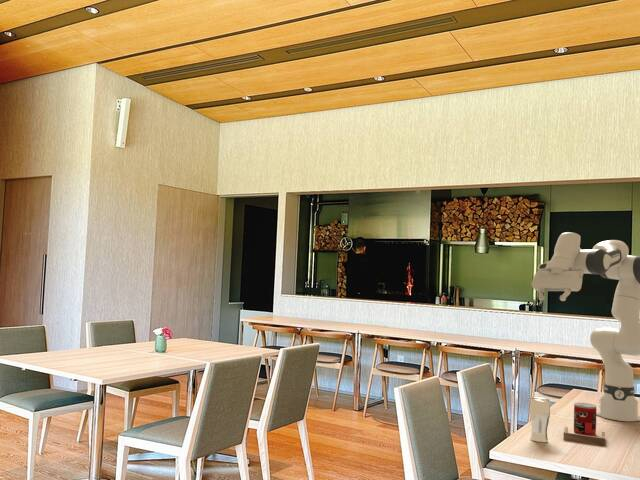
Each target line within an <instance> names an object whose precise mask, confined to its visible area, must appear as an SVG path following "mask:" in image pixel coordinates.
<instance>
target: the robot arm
mask: <svg viewBox="0 0 640 480" xmlns="http://www.w3.org/2000/svg"><path fill="white" fill-rule="evenodd" d="M580 246H581V235H580V234H578V233H576V232H569V231H567V232H562V233H561V234H560V235H559V236H558V238H557V241H556V244H555V246H554V250H553V252H554V253H553V255H552V257H551V259H550V260H549V261H546V262H544V263H540V264H538V266H537V268H536V269H537V271H536V272H535V273H534V276H533V278H532V281H531V288H533V290H535V291H537V292H538V300H539V301H545V299H546V296H545V295H544V294H545V292H564V293H562V294H560V295H559V300H560V301H561V302H565V301H566V300H567V298H568V296H570V294H571V292H579V291H581V289H582V284H583V277H584V274H589V275H598V276H599V275H600V276H601V278H604V279H607V280H617V281H618V283H617V285H616V288H615V292H614V295H613V296H614V297H613V302H612V307H611V315H612V317H613V318H614V319H616V320H617V321H618V322H620V328H618V327H617V328H616V327H608V326H607V327H597V328H595V329H593V330H592V331H591V333H590V337H589V340H590V345H591V346H592V347H593V349H595V350H596V351H597V352H598V354H599V355H600V357H601V359H602V361H603V365H604V377H605V379H604V380H605V383H604V384H603V391H604V393H603V394H602V395H601V396H600V398H599V400H598V403H599V405H598V407H599V409H598V410H596V416H598V417H602V418H604V419H609V420H614V421H620V422H640V415H639V400H637V399H636V398H635V386H634V369H633V367H632V366H631V365H630V364H628V363H627V362H626V361H625V360H624V359H623V356H622V355H627V356H628V355H629V356H634V357H636V356H637V357H638V356H639V357H640V255H631V254H630V255H629V251H630V250H629V246H628V245H627V244H626V243H625V242H624V241H622V240H618V239H609V240H603V241H600V242H598V243H596V244H595V245H593V247H592V249H582V248H581V247H580Z"/></svg>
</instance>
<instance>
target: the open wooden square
mask: <svg viewBox="0 0 640 480" xmlns="http://www.w3.org/2000/svg"><path fill="white" fill-rule="evenodd" d="M568 428H569V426H564V429H563V440H564V441H572V442H577V443H578V442H579V443H584V444H585V443H586V444H591V445H598V446H604V447H605V446H606V433H605V431H601V436H595V435H592V436H588V435H581V434H577V433H572V432H568V431H569V430H568Z"/></svg>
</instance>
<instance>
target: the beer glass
mask: <svg viewBox="0 0 640 480" xmlns="http://www.w3.org/2000/svg"><path fill="white" fill-rule="evenodd" d="M550 401H551V400H550V399H549V398H545V397H535V396H533V397H530V404H529V405H530V406H529V417H530V423H531V434H530V440H531V441H533V442H537V443H541V444H542V443H543V444H544V443H545V444H546V443H548V442H549V437H548V427H549V422H550V417H551V403H550Z"/></svg>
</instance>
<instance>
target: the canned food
mask: <svg viewBox="0 0 640 480" xmlns="http://www.w3.org/2000/svg"><path fill="white" fill-rule="evenodd" d="M596 411H597V405H595V404H593V403H587V402H574V404H573V431H574V434H580V435H587V436H595V435H596V433H597V415H596Z"/></svg>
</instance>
